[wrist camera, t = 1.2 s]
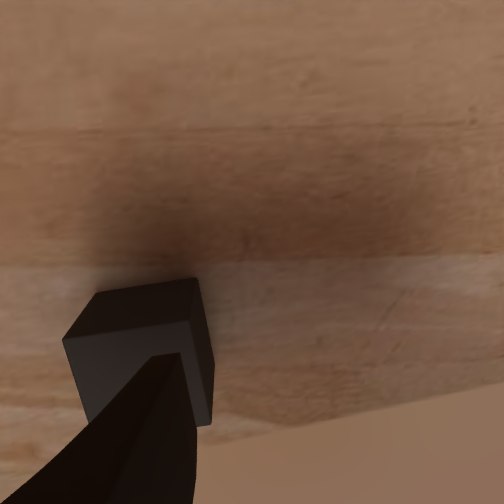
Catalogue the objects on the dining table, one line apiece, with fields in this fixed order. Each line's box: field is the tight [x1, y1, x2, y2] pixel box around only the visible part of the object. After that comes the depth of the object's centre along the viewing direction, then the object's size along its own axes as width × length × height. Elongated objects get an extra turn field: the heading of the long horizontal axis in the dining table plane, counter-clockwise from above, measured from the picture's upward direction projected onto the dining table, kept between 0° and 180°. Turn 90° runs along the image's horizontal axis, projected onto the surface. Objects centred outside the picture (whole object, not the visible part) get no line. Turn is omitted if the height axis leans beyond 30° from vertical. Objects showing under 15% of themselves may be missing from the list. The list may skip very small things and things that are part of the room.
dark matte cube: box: [62, 278, 215, 427], centre depth 17 cm, size 4×4×4 cm
